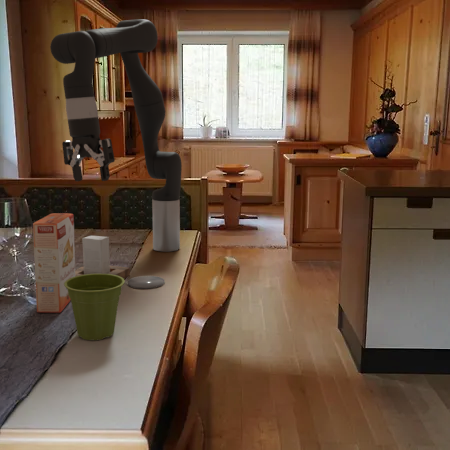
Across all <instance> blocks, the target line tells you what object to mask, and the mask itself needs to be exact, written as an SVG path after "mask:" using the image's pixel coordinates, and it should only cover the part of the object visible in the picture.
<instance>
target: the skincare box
mask: <svg viewBox="0 0 450 450" xmlns="http://www.w3.org/2000/svg"><path fill="white" fill-rule="evenodd" d="M109 238H110V237H109V236H101V235H100V236H99V235H88V236H86V237H82V239H81V242H82V243H81V244H82V260H83V261H82V262H83V263H82V264H83V266H84V274H107V273H109V272H110V266H111V263H110V260H111V257H110V239H109Z"/></svg>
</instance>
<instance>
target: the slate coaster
mask: <svg viewBox="0 0 450 450" xmlns="http://www.w3.org/2000/svg"><path fill="white" fill-rule="evenodd" d="M165 281H166V280H165V278H163V277H160V276H156V275H139V276H135V277H131V278H130V279H128V280H127V282H126V283H127V284H126V285H127V286H128V287H131V288H132V289H141V290H144V289H145V290H146V289H147V290H148V289H155V288H156V289H157V288H159V287H163V286H164V285H165V283H166V282H165ZM163 284H164V285H163Z"/></svg>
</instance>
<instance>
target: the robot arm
mask: <svg viewBox="0 0 450 450" xmlns="http://www.w3.org/2000/svg"><path fill="white" fill-rule="evenodd" d="M158 38H159V37H158V30H157V28H156V26H155V24H154V23H153V22H152V21H150V20H148V19H141V18H140V19H139V18H138V19H128V20H127V19H126V20H120V21H119V22H118V23H117V25H116V27H106V28H105V27H102V28H93V29H88V30H85V31H84V30H78V31H71V32H64V33H60V34H59V33H58V34H57V35H55V36H54V37H53V38H52V40H51V42H50V53H51V55H52V56H53V58H54V59H55V60H56V61H57V62H59V63H61V64H63V65H70V64H74V68H73V70H72V71H71V72H70V73H67V74H66V75H64V77H62V82H63V83H62V84H63V90H64V99H65V111H66V119H67V125H68V133H69V136H70V137H71V139H72V140H65V141H62V142H61V143H62V154H63V162H64V165H66V166H67V165H68V166H70V167H71V170H72V176H73V179H74V181H75V182H82V181H83V172H82V166H81V163H82V161H83V160H84V158H92V159H93V160H94V161H96V162H97V163H98V164H99V171H100V178H101V181H102V182H106V181H109V179H110V169H109V166H110V164H113V163H114V162H115V160H116V159H115V153H114V148H113V144H112V143H113V142H112V139H111V138H105V139H101V138H100V134H101V129H100V120H99V112H98V106H97V102H96V97H95V91H94V84H93V83H94V82H93V79H94V78H93V76H94V70H95V69H94V68H95V61H96V59H100V58H106V57H108V56H113V55H117V54H119V55H120V57H121V60H122V63H123V65H124V68H125V72H126V75H127V80H128V84H129V87H130V90H131V97H132V100H133V106H134V110H135V115H136V118H137V122H138V126H139V130H140V135H141V139H142V145H143V153H144V160H145V166H146V170H147V174H148V175H149V177H150V178H152V179H155V180H165V184H164V186H163V187H161V188H158V189H155V190H153V191H152V193H151V198H152V200H151V202H152V203H151V206H152V207H151V208H152V209H151V211H152V249H153V250H154V251H156V252H157V251H158V252H176V251H178V249H179V250H180V249H181V248H180V247H181V229H180V228H181V227H180V226H181V225H180V224H181V218H180V217H181V214H180V213H181V212H180V211H181V210H180V205H181V204H180V198H181V197H180V195H181V190H182V187H181V186H182V167H183V165H182V159H181V156H180V154H179V153H178V152H176V151H161V150H160V149H159V142H158V140H159V139H158V137H159V134H160V131H161V129H162V126H163V123H164V122H165V121H164V120H165V118H166V108H165V103H164V102H165V101H164V97H163V93H162V90H161V89H160V88H159V85H157V83H156V82H155V81H154V80H153V79H152V77H151V76H150V75H149V74H148V72H147V71H146V70H145V67H144V66H143V65H142V61H141V59H140V57H139V54H142V53H149V52H152V51H153V50H154V49H155V48H156V47H157V44H158Z"/></svg>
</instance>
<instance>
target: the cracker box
mask: <svg viewBox="0 0 450 450" xmlns="http://www.w3.org/2000/svg"><path fill="white" fill-rule="evenodd" d="M32 231H33V233H32V235H33V239H32V240H33V255H34V257H33V259H34V276H35V277H34V278H35V280H34V281H35V300H36V301H35V302H36V313H50V314H51V313H52V314H53V313H55V314H57V313H58V314H61V313H62V311H64V309H65V308H66V306H67V305H68V304H69V303H70V302H71V299H70V297H69V294H68V290H67V288H66V287H65V286H64V282H65V281H66V280H68V279H70V278H72V277H75V270H76V259H75V257H76V254H75V253H76V252H75V221H74V214H73V213H70V212H69V213H68V212H67V213H66V212H65V213H63V212H62V213H61V212H60V213H59V212H58V213H49V214H48V215H46V216H44V217H42V218H40V219H39V220H36V221H35V222H32Z"/></svg>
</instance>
